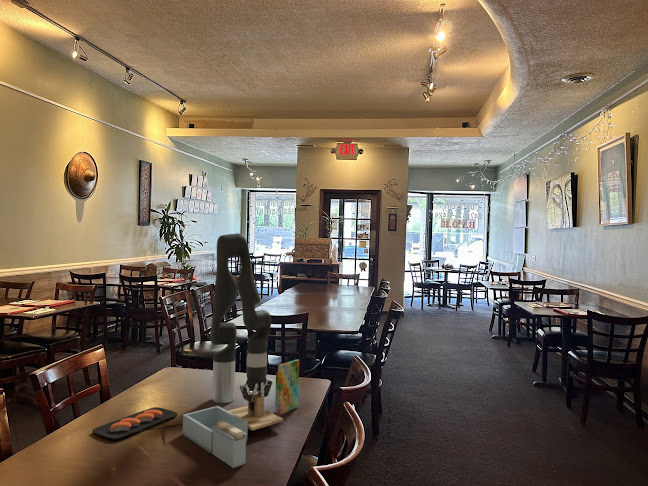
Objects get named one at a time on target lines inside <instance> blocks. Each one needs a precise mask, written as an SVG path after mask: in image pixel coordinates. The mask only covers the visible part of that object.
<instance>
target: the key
mask: <svg viewBox="0 0 648 486" xmlns="http://www.w3.org/2000/svg"><path fill="white" fill-rule="evenodd" d="M216 427H218V428H220V429H221V430H223V431H225V432H226V433H228V434H230V435H231V436H233V437H235V440H238V439H241V438H243V431H241V430H239V429H238V428H236V427H234V426H232V425H230V424H229V423H227V422H225V421H223V420H221V421H218V422H216Z"/></svg>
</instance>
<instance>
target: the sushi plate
mask: <svg viewBox="0 0 648 486" xmlns="http://www.w3.org/2000/svg"><path fill="white" fill-rule="evenodd" d="M176 416H178V413H177V411H173V410H169V409H166V408H163V407H157V406H156V407H150V408H146V409H144V410H142V411H139V412H136V413H133V414H130V415H127V416H125V417H122V418H119V419H116V420H114V421H111V422H108V423H106V424H102V425H100V426H97V427H95V428H93V429H92V432H93V433H94V434H95V435H98V436H100V437H103V438H106V439H110V440H119V439H123V438H125V437H127V436H128V437H129V436H130V435H133V434H136V433H140V432H147V431H154V430H160V429H162V437H163V439H162V441H163V445H162V446H166V433H165V431H166V430H165V429H166V428H167V429H168V428H174V427H178V426H183V422H182V423H178V424H173V425H165V421H168V420H170V419H173V418H176ZM161 423H162V426H159V427H154V428H151V427H153V426H156V425H158V424H161Z"/></svg>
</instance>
